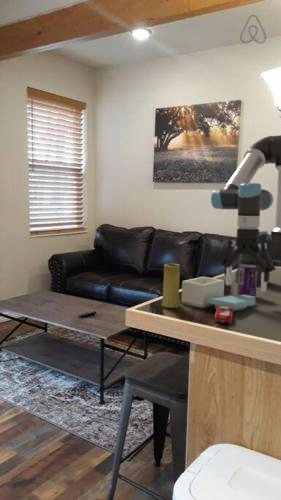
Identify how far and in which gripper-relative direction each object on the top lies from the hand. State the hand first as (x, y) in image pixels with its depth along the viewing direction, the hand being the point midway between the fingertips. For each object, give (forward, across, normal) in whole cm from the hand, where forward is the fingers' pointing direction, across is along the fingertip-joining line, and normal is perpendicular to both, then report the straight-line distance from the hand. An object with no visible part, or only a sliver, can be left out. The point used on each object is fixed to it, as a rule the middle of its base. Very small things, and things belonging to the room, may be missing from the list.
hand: (245, 287), depth 145 cm
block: (+5, +1, -8) cm, 10 cm away
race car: (+6, +5, -22) cm, 24 cm away
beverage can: (+6, -5, +10) cm, 13 cm away
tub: (+5, -11, -10) cm, 16 cm away
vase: (+5, -16, -22) cm, 28 cm away
